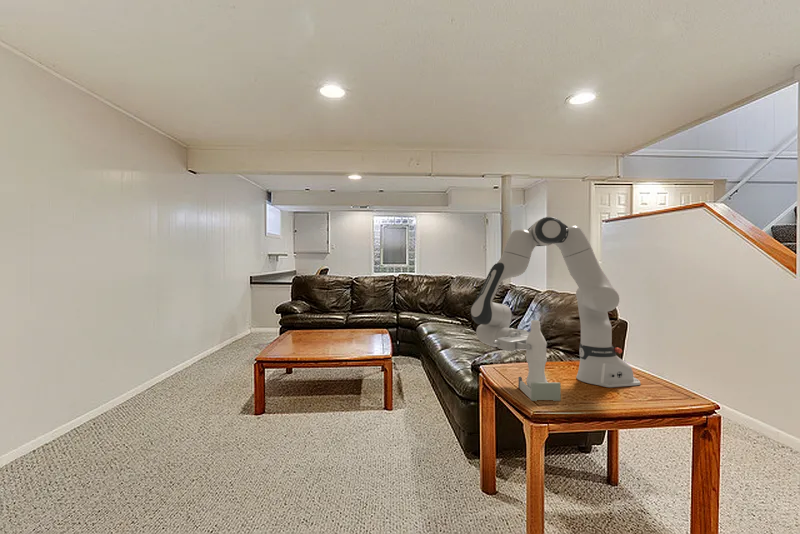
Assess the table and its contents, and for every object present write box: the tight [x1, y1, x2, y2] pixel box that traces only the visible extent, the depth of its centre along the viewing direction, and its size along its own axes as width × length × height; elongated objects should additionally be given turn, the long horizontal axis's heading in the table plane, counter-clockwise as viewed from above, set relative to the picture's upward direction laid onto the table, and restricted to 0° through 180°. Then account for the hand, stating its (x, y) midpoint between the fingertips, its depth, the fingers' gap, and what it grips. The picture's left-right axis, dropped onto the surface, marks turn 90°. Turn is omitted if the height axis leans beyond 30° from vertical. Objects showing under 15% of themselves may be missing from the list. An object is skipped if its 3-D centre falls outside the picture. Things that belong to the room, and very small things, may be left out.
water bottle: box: [525, 319, 548, 389], centre depth 136 cm, size 7×7×25 cm
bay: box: [518, 376, 562, 402], centre depth 134 cm, size 10×14×6 cm
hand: (538, 345), depth 135 cm, fingers closed on water bottle, 7 cm apart
